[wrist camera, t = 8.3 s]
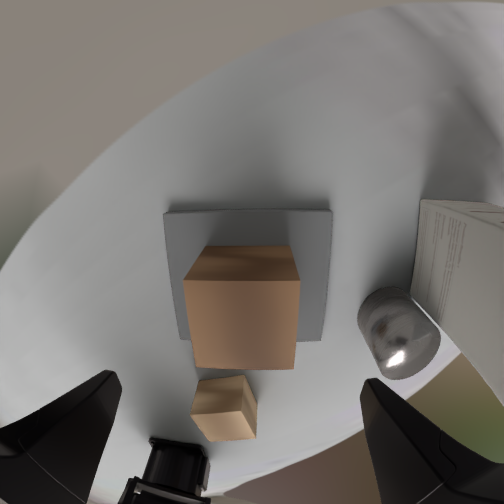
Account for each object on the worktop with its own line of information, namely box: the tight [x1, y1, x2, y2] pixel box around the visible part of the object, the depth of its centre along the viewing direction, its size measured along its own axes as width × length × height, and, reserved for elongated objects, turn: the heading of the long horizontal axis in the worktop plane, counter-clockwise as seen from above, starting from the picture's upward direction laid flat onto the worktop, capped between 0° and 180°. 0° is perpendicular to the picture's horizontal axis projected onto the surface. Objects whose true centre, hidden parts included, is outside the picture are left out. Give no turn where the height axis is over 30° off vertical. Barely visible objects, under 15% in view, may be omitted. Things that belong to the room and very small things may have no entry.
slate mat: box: [163, 209, 333, 342], centre depth 17 cm, size 10×9×1 cm
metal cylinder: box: [357, 287, 441, 380], centre depth 16 cm, size 4×4×5 cm
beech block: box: [190, 375, 257, 442], centre depth 20 cm, size 4×4×4 cm
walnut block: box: [183, 246, 300, 370], centre depth 15 cm, size 5×5×5 cm
